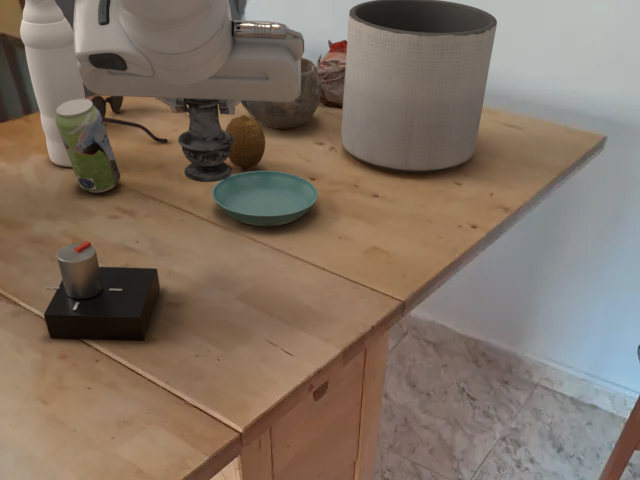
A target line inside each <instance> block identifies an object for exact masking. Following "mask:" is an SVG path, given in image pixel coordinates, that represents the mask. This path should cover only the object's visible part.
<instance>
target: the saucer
mask: <svg viewBox="0 0 640 480" xmlns="http://www.w3.org/2000/svg"><path fill="white" fill-rule="evenodd" d="M211 197H212V199H213V201H214V202H215V203H216V205H217V206H218V207H219V208H220V210H222V211H223V212H224V213H225V214H226V215H228V216H229V217H230V218H233V219H234V220H236V221H238V222H241V223H243V224H247V225H251V226H256V227H257V226H259V227H260V226H261V227H275V226H281V225H286V224H289V223H292V222H294V221H297V220H298V219H300V218H301V217H303V216H304V215H305V214H307V212H308V211H309V210H310V209H311V208H312V207H313V206H314V205H315V203H316V202H317V200H318V198H319V191H318V188H317V187H316V186H315V185H314V184H313V183H312V182H311V181H309V180H308V179H305V178H304V177H300V176H299V175H296V174H292V173H287V172H282V171H275V170H252V171H243V172H239V173H236V174H235V173H234V174H232V175H231V176H230V177H229V178H227V179H224V180H221V181H217V182H216V183H215V185H214V186H213V188H212V191H211Z"/></svg>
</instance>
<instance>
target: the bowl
mask: <svg viewBox="0 0 640 480" xmlns="http://www.w3.org/2000/svg"><path fill="white" fill-rule="evenodd" d="M300 59H301V92H300V96H299V97H298V98H296V99H295V100H293V101H291V102H275V101H246V100H242V101H241V102H240V104H241V105H242V106H243V108H244V109H245V110H246V111H247V112H248V114H249V115H250V117H251V118H254V119H255V120H257V122H260V123H262V124H264V125H266V126H267V127H271V128H274V129H281V130H284V129H285V130H286V129H291V128H295V127H298V126H301V125H303V124H305V123H306V122H307V121H308V120H309V119H310V118H311V117H313V115H314V114H315V113H316V111H317V109H318V107H319V105H320V94H321V86H322V81H321V80H320V78H319V76H318V73H317V70H316V65H315V64H314V62H313V61H311V60H310V59H308V58H305V57H303V56H302V57H301V58H300Z"/></svg>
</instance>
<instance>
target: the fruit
mask: <svg viewBox="0 0 640 480" xmlns="http://www.w3.org/2000/svg"><path fill="white" fill-rule="evenodd" d="M224 131H226V132H229V133H230V134H231V135H232V136H233V137H234V141H233V143H232V144H231V151H230V154H229V157H228V159H229V161H230V162H231V163H232V164H233V165H234V166H236V167H237V168H240V169H242V170H249V169H251V168H253V167H255V166H258V165H259V163H260V162H261V161H262V158H263V156H264V155H265V154H264V153H265V150H266V139H265V138H266V137H265V133H264V131H263V128H262V126H261V124H260V123H259V121H258V120H256V119H255V118H254V117H251V116H247V115H246V114H241V115H240V116H237V117H234V118H232V119H231V120H230V122H229V123H228V124H227V126H226V128H225V130H224Z"/></svg>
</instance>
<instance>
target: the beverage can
mask: <svg viewBox="0 0 640 480" xmlns="http://www.w3.org/2000/svg"><path fill="white" fill-rule="evenodd" d="M56 112H57V114H56V120H55V121H56V125H57V127H58V130H59V133H60V135H61V138H62V141H63V143H64V146H65V148H66V151H67V154H68V156H69V159H70V162H71V164H72V167H71V168H72V170H73V172H74V175H75V177H76V180H77V184H78V186H79V187H80V188H81V189H82V190H84V191H88V192H90V193H96V194H97V193H98V194H99V193H104V192H107V191H109V190H112V189H113V188H114V187H115V186H116V184H118V183H119V181H120V179H121V172H120V170H119V167H118V164H117V161H116V157H115V154H114V151H113V148H112V144H111V142H110V139H109V135H108V133H107V130H106V127H105V122H103V120H102V117H101V114H100V111H99V110H98V108H97V107H95V106H94V105H93V103H92V101H91V99H89V98H86V97H85V98H77V99H71V100H68V101H65V102H63V103H61V104H60V105H59V106H58V107H57V108H56Z"/></svg>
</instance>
